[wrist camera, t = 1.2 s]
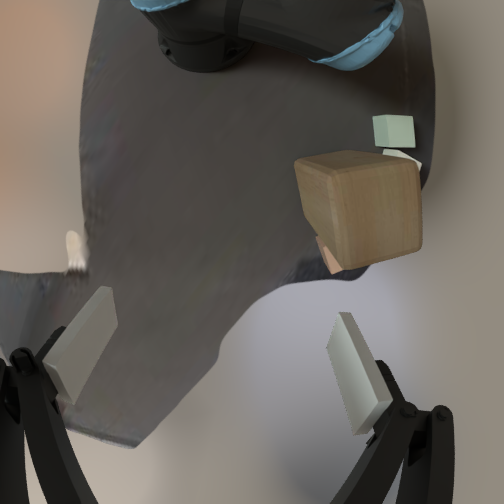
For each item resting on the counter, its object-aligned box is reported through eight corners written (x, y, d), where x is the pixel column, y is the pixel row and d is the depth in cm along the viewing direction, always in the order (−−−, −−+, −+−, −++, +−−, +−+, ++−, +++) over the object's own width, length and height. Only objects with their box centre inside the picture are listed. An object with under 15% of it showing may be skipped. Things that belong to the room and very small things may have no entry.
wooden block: (351, 148, 40) (421, 158, 21) (360, 207, 44) (425, 252, 25) (291, 159, 41) (327, 173, 22) (304, 219, 44) (342, 276, 26)
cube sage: (372, 116, 38) (386, 114, 33) (397, 117, 38) (412, 116, 33) (375, 145, 40) (389, 147, 35) (400, 145, 39) (415, 147, 35)
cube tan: (315, 236, 46) (322, 247, 41) (342, 225, 45) (352, 235, 40) (324, 261, 47) (331, 274, 43) (349, 250, 47) (359, 262, 42)
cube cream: (384, 148, 40) (398, 150, 35) (406, 160, 40) (421, 163, 36) (375, 175, 42) (388, 179, 37) (397, 186, 42) (412, 191, 38)
